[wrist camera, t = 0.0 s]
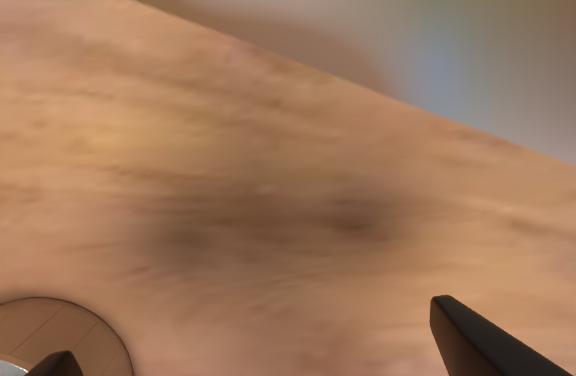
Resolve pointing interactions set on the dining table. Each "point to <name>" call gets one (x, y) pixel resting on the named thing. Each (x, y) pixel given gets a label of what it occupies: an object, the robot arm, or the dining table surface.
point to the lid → (13, 366)
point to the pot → (61, 336)
